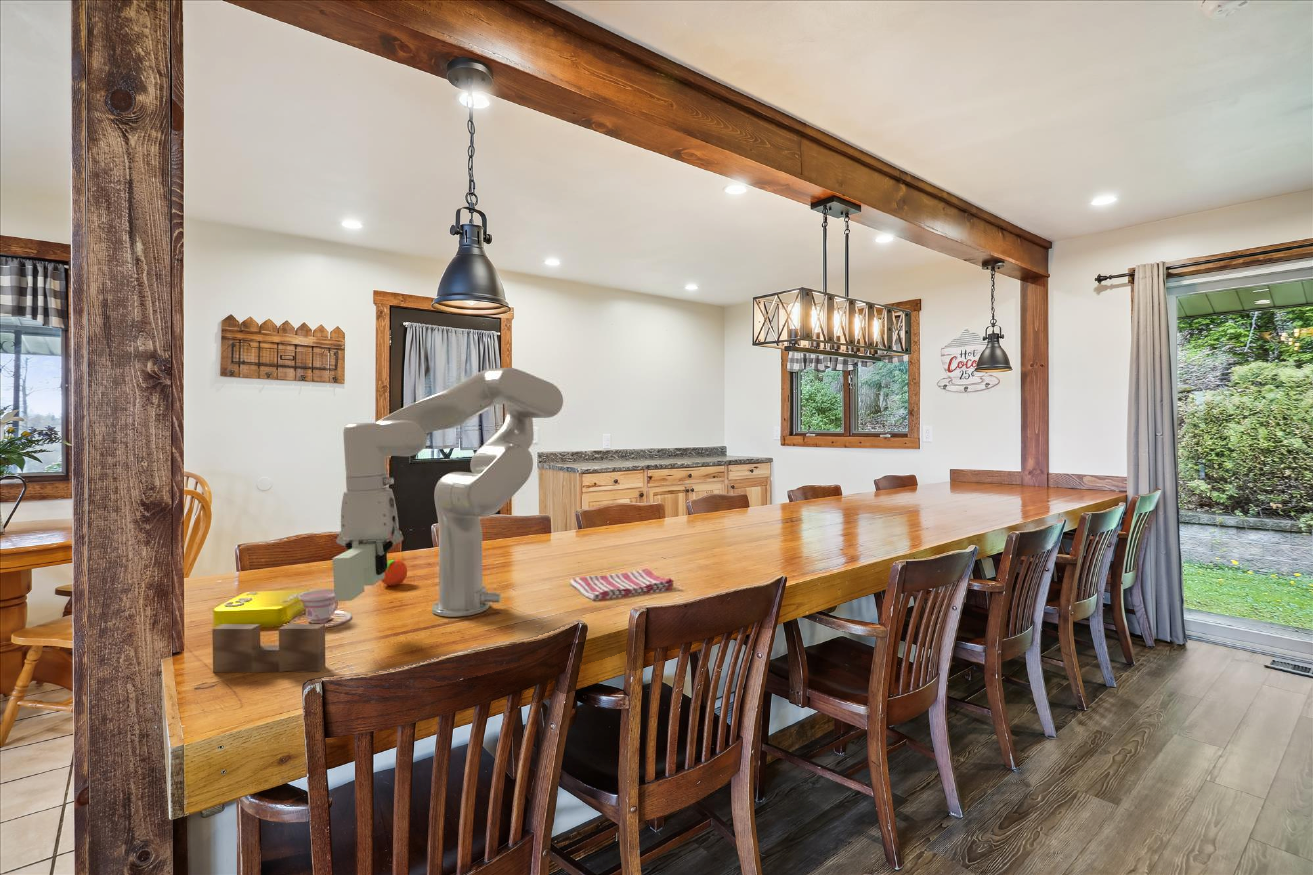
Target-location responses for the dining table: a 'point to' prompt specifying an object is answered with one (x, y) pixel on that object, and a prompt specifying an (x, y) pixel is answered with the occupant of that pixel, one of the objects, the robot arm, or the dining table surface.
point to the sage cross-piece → (355, 571)
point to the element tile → (260, 608)
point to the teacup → (321, 607)
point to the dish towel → (621, 584)
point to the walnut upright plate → (268, 648)
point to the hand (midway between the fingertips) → (371, 572)
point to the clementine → (394, 572)
